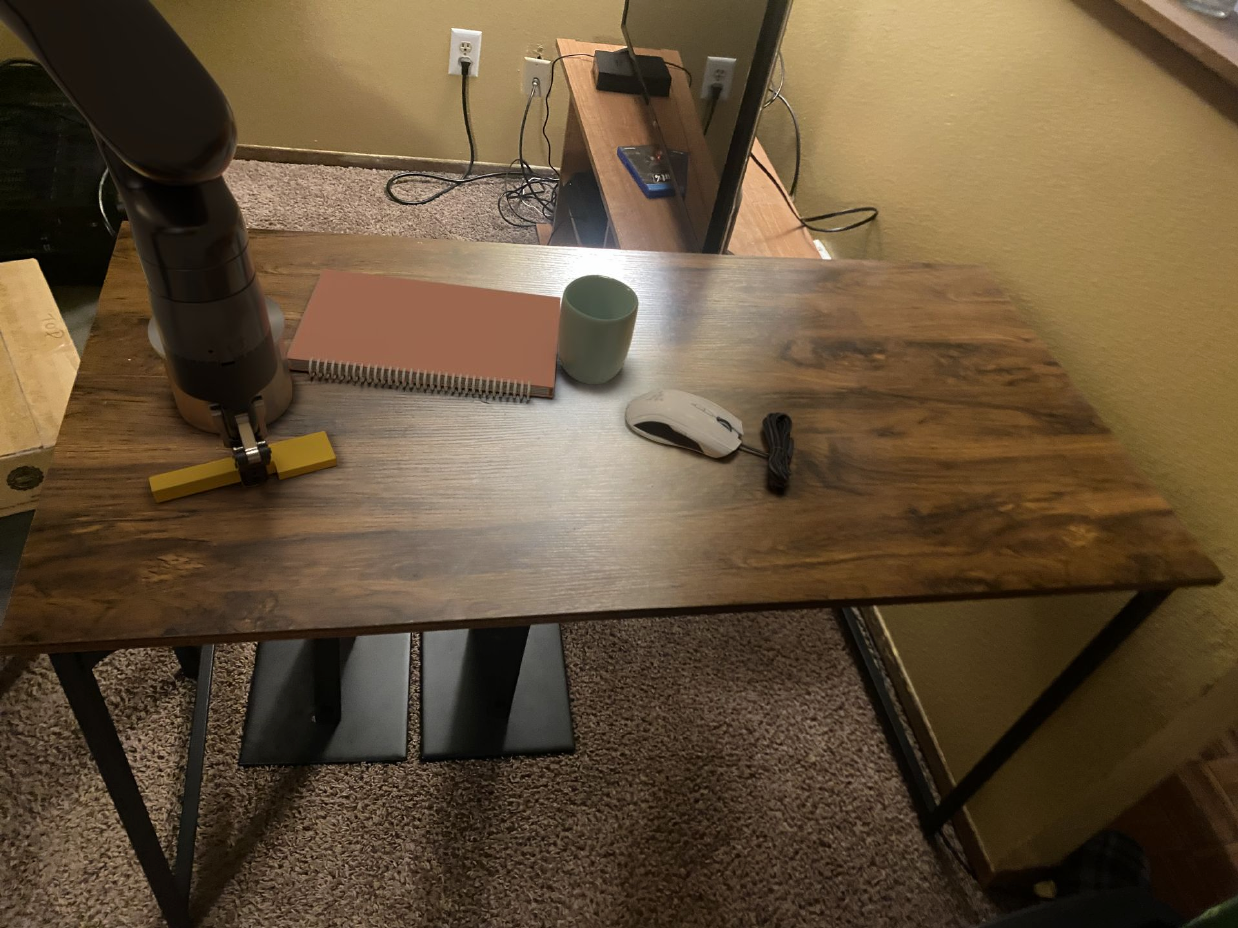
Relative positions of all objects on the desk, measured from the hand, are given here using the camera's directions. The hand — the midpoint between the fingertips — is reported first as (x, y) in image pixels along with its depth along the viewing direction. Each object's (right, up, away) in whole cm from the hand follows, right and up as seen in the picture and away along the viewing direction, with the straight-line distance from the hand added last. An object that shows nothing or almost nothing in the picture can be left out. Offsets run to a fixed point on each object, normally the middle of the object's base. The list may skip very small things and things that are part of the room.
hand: (255, 479), depth 74 cm
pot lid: (-4, +14, +2) cm, 14 cm away
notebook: (+12, +15, +18) cm, 26 cm away
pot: (-5, +8, +8) cm, 12 cm away
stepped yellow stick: (-1, +1, +2) cm, 2 cm away
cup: (+29, +12, +19) cm, 36 cm away
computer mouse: (+42, +4, +14) cm, 44 cm away
